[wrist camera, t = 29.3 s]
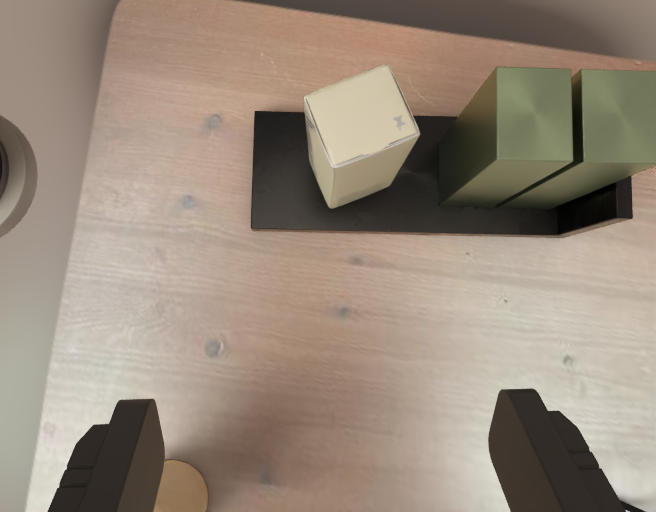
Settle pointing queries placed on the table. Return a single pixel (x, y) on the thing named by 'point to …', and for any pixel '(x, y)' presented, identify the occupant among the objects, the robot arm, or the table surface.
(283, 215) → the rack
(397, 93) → the box
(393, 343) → the table surface
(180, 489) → the candle
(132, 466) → the robot arm
